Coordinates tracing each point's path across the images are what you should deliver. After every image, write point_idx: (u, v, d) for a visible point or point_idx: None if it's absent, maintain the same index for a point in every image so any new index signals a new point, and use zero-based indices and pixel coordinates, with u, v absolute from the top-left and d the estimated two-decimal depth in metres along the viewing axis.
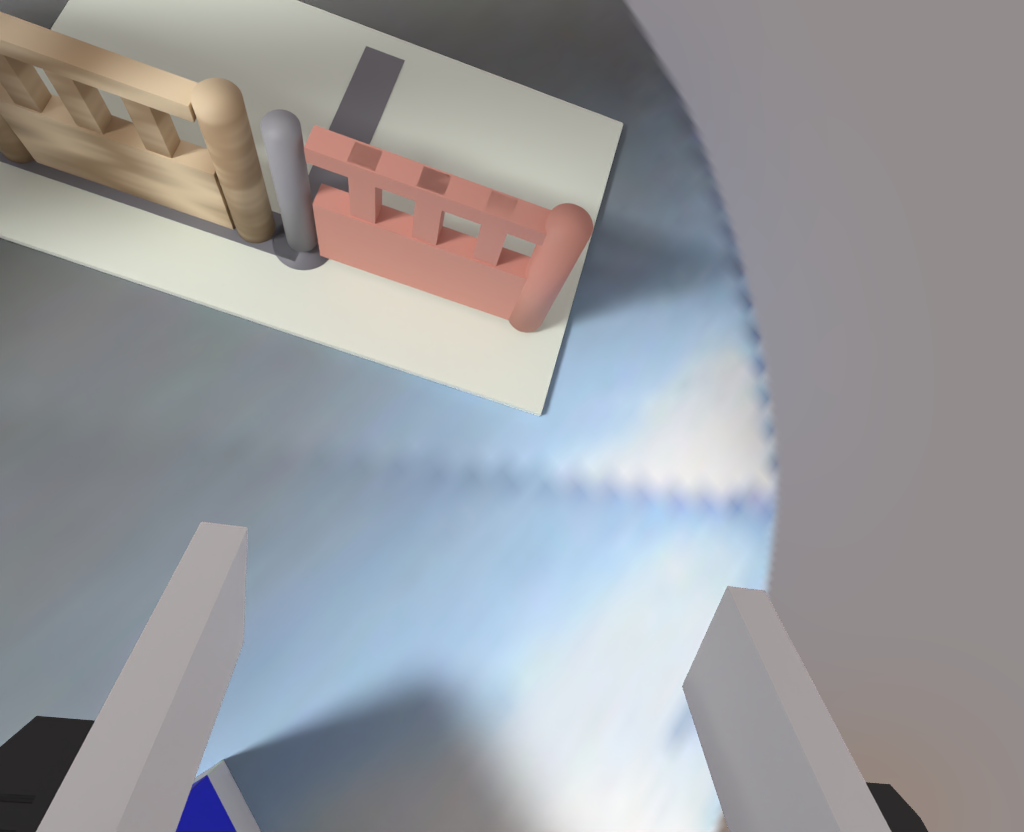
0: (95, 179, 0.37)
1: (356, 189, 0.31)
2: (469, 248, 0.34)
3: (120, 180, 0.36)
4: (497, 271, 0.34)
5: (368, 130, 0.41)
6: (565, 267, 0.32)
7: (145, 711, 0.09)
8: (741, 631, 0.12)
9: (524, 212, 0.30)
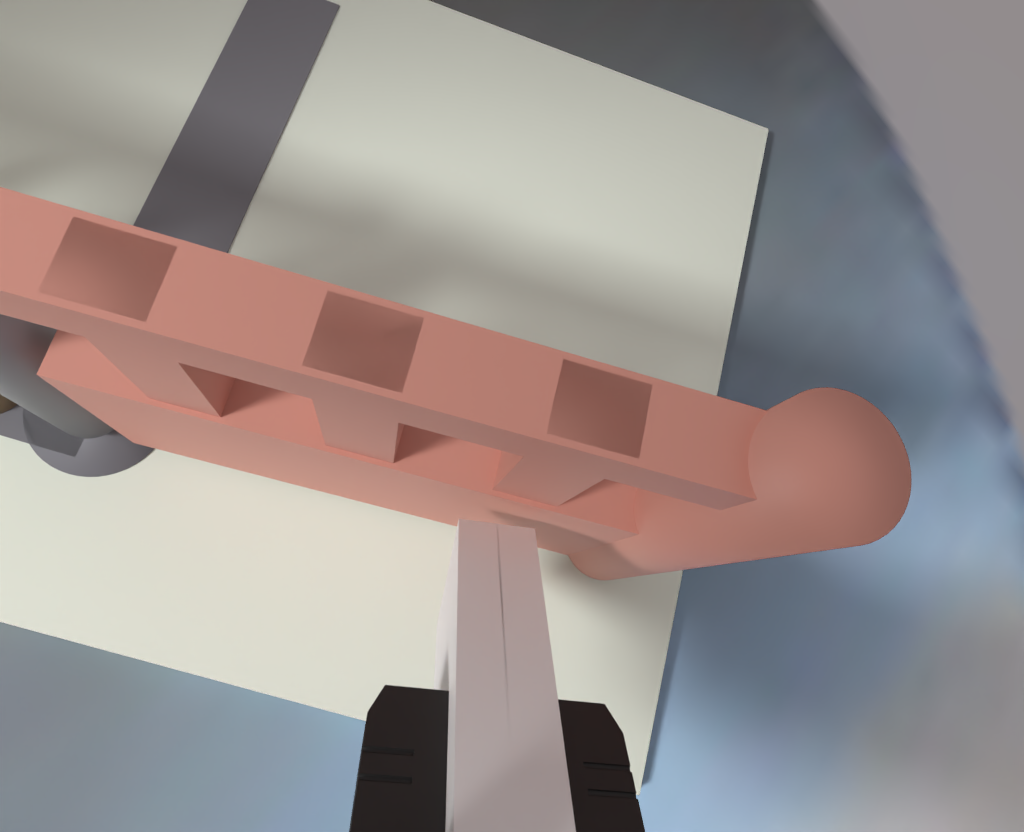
0: None
1: (124, 356, 0.10)
2: (484, 461, 0.13)
3: None
4: (559, 515, 0.13)
5: (259, 149, 0.19)
6: None
7: (491, 679, 0.10)
8: (496, 564, 0.13)
9: (677, 426, 0.09)
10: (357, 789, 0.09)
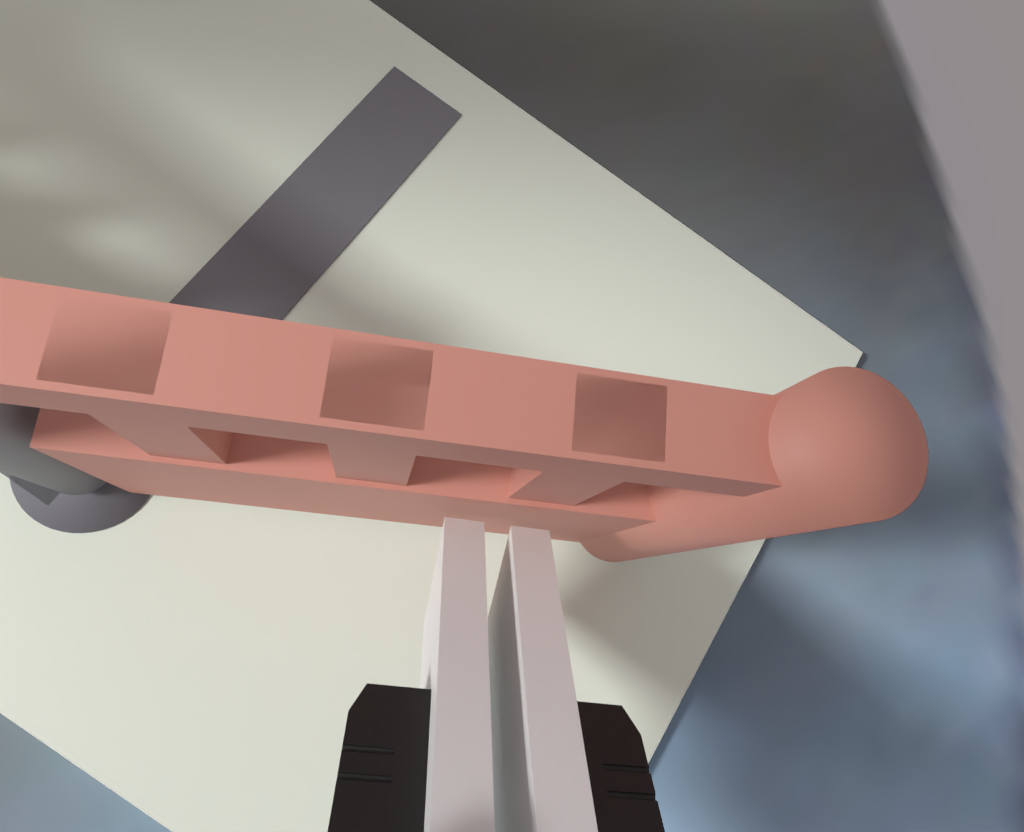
0: None
1: (126, 424, 0.10)
2: (495, 470, 0.13)
3: None
4: (575, 513, 0.13)
5: (334, 239, 0.19)
6: None
7: (472, 678, 0.10)
8: (512, 565, 0.13)
9: (696, 425, 0.09)
10: (336, 788, 0.09)
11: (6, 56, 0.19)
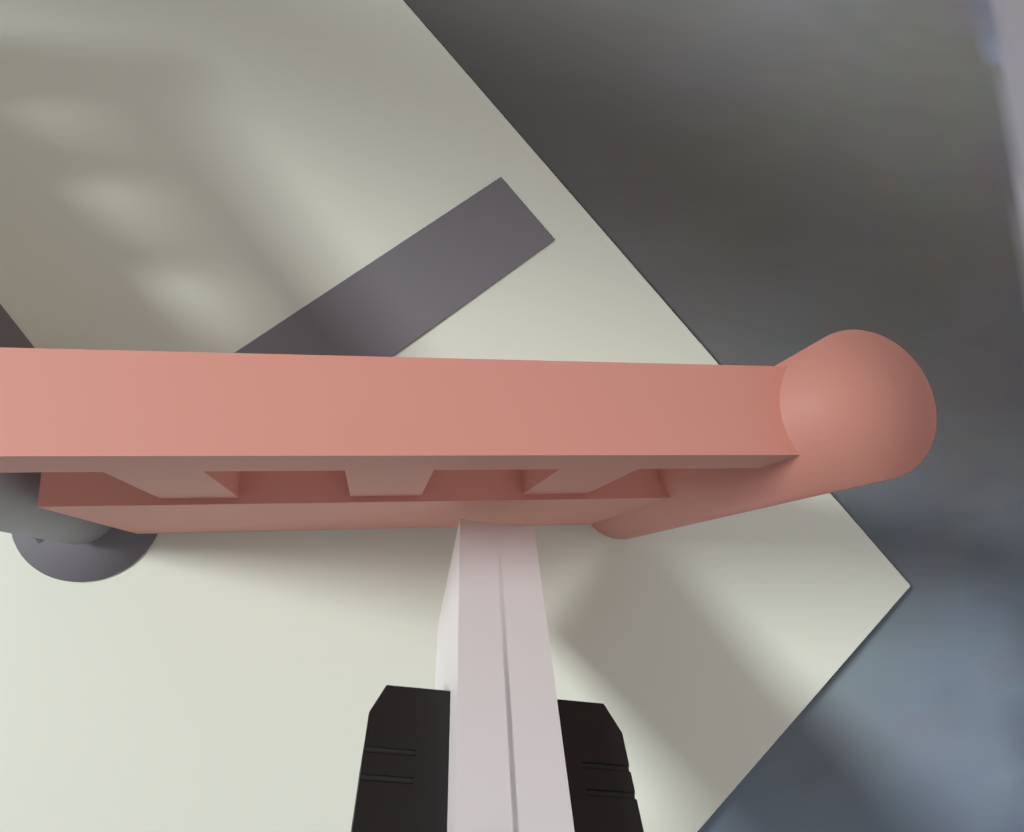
0: None
1: (140, 475, 0.09)
2: (507, 469, 0.13)
3: None
4: (590, 500, 0.13)
5: (393, 338, 0.19)
6: None
7: (492, 680, 0.10)
8: (495, 563, 0.13)
9: (709, 405, 0.09)
10: (359, 789, 0.09)
11: (134, 89, 0.19)
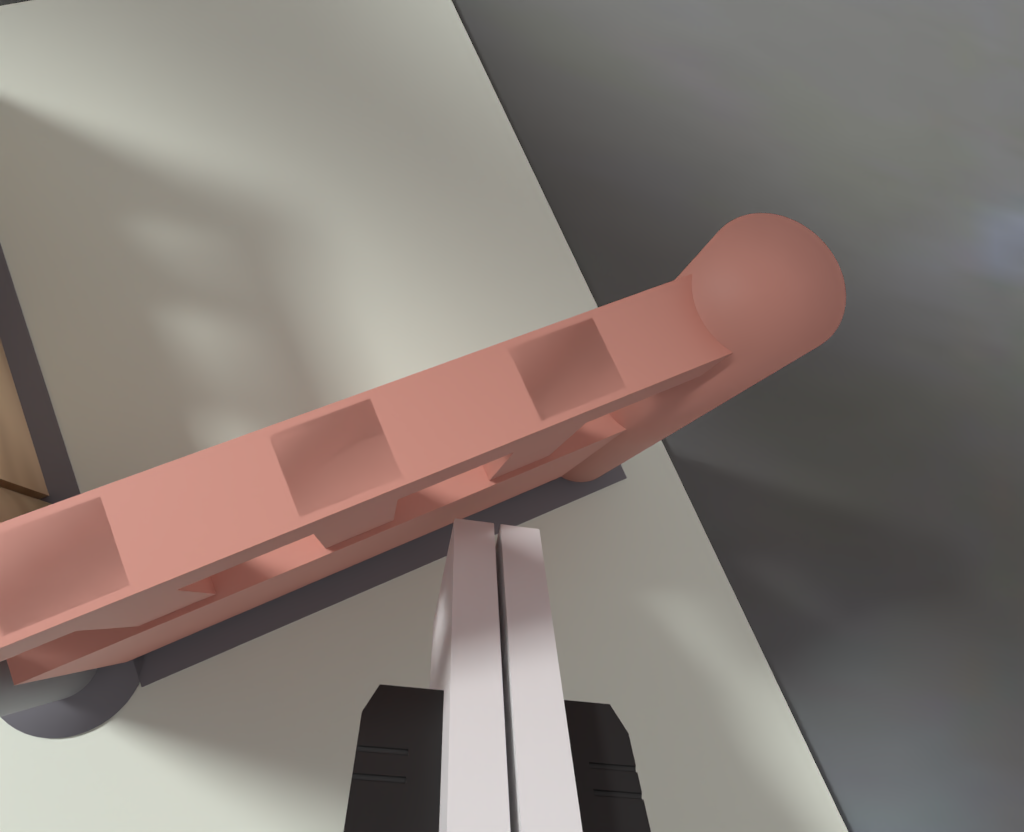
0: None
1: (108, 618, 0.09)
2: None
3: None
4: (554, 460, 0.13)
5: (428, 547, 0.17)
6: None
7: (485, 679, 0.10)
8: (500, 564, 0.13)
9: (635, 338, 0.09)
10: (351, 789, 0.09)
11: (253, 225, 0.19)
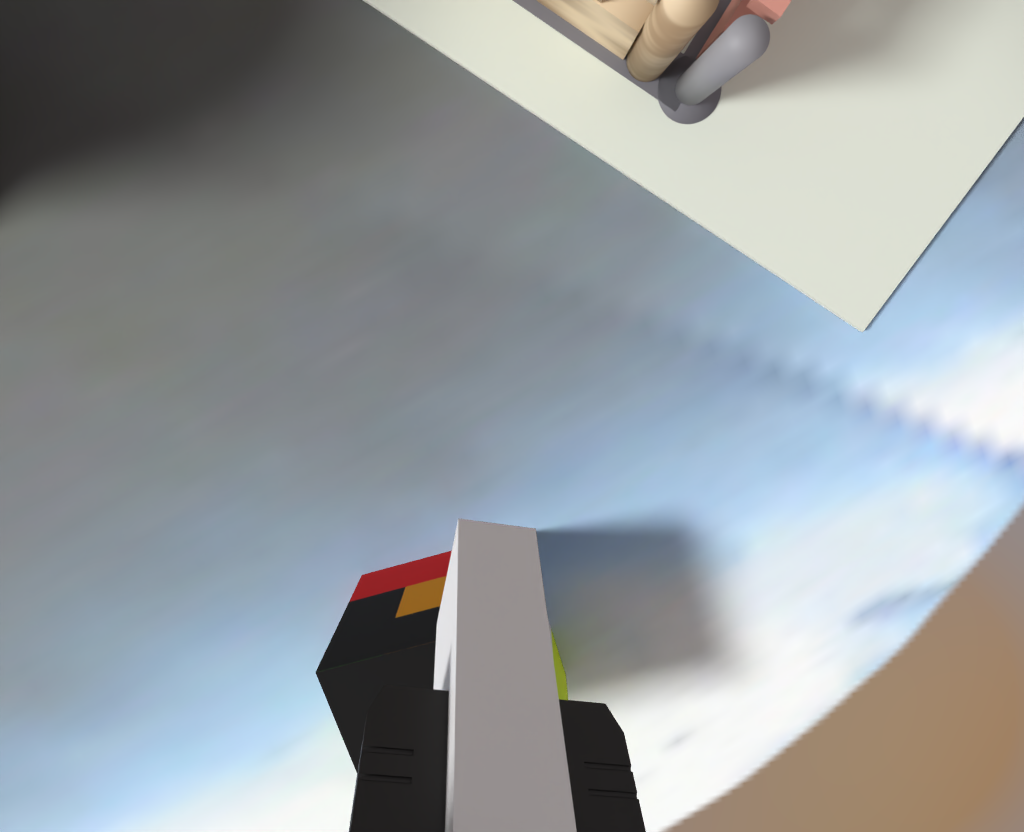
0: None
1: None
2: None
3: None
4: None
5: None
6: None
7: (490, 679, 0.10)
8: (496, 564, 0.13)
9: None
10: (357, 789, 0.09)
11: None
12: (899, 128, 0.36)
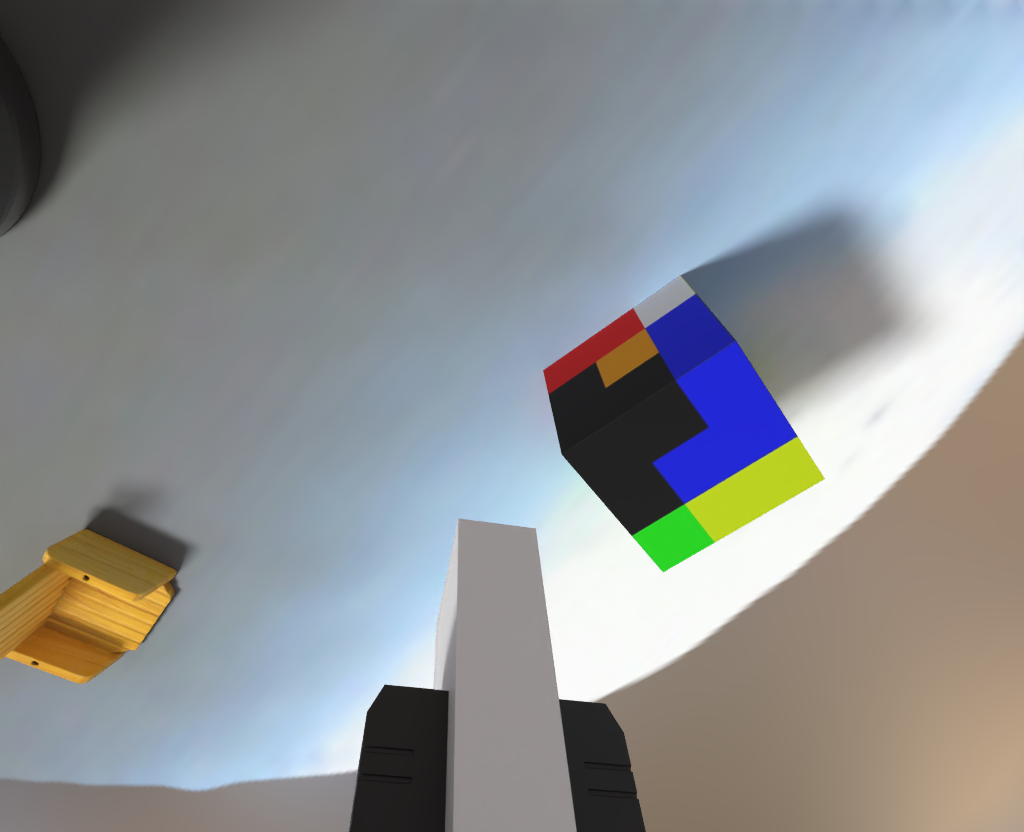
0: None
1: None
2: None
3: None
4: None
5: None
6: None
7: (490, 679, 0.10)
8: (496, 564, 0.13)
9: None
10: (357, 789, 0.09)
11: None
12: None
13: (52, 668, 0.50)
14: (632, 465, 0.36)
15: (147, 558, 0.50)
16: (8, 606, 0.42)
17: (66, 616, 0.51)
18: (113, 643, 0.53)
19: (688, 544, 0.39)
